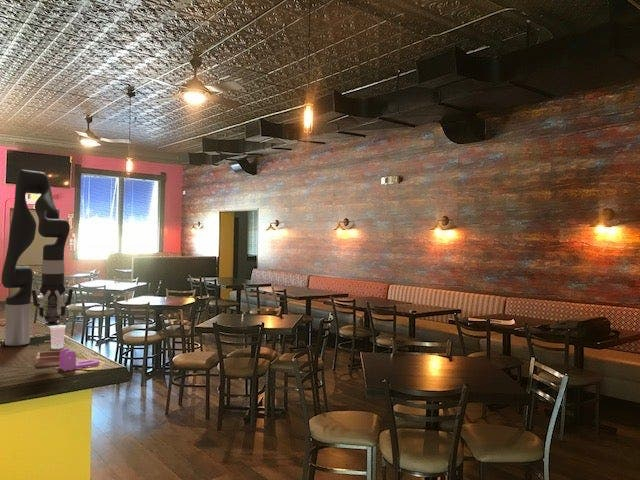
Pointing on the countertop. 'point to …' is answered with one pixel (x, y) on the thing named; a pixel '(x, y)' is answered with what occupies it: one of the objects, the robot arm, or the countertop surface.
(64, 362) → the bracket
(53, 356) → the shaker holder
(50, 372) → the countertop surface
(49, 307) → the salt shaker
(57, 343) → the beverage cup
